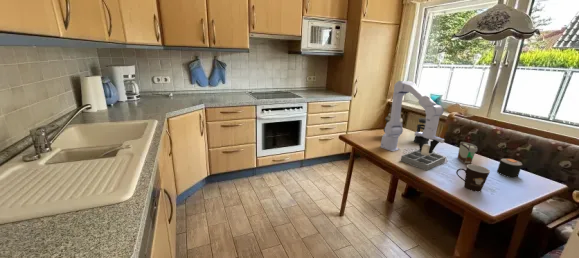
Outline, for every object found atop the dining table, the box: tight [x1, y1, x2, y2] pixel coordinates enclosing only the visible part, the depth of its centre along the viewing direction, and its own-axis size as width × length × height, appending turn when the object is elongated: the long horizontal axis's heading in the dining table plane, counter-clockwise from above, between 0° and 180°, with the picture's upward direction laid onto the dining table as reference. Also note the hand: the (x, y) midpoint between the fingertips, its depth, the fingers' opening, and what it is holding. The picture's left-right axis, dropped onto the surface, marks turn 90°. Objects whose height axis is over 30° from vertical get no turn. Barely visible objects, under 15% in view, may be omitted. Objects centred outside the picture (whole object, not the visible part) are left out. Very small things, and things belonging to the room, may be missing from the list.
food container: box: [457, 141, 478, 165], centre depth 144 cm, size 12×6×10 cm, turn 168°
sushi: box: [496, 158, 523, 178], centre depth 130 cm, size 8×8×8 cm
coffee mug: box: [455, 163, 491, 193], centre depth 114 cm, size 12×9×10 cm
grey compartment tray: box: [400, 148, 447, 171], centre depth 142 cm, size 15×22×3 cm
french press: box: [413, 117, 430, 145], centre depth 172 cm, size 12×9×23 cm
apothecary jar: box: [383, 112, 404, 133], centre depth 180 cm, size 12×12×18 cm
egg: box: [421, 143, 430, 156], centre depth 134 cm, size 4×4×6 cm
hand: (425, 151), depth 134 cm, fingers closed on egg, 4 cm apart
